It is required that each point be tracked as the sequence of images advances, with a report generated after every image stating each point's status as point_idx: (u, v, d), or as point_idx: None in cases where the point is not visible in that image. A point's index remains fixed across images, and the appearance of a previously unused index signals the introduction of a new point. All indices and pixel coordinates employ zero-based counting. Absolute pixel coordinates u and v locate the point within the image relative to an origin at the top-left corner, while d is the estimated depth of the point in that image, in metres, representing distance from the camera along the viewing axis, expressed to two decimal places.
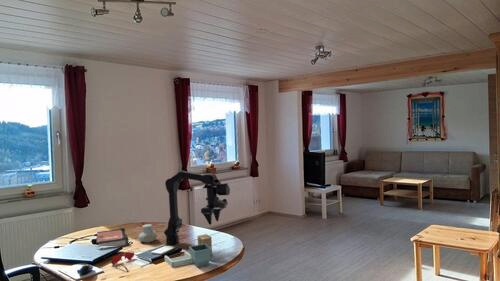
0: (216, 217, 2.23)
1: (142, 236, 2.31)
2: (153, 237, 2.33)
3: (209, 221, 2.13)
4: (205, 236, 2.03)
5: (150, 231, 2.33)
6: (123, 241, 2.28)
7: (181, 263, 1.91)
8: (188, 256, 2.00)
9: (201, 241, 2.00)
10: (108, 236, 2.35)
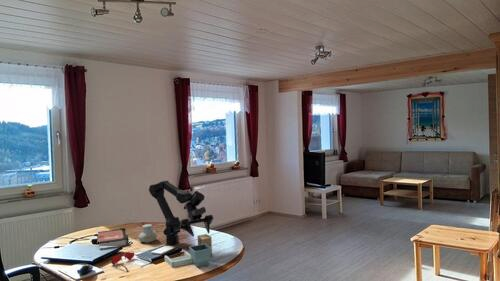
0: (207, 230, 2.10)
1: (142, 236, 2.31)
2: (153, 237, 2.33)
3: (191, 233, 2.05)
4: (205, 236, 2.03)
5: (150, 231, 2.33)
6: (123, 241, 2.28)
7: (181, 263, 1.91)
8: (188, 256, 2.00)
9: (201, 241, 2.00)
10: (108, 236, 2.35)
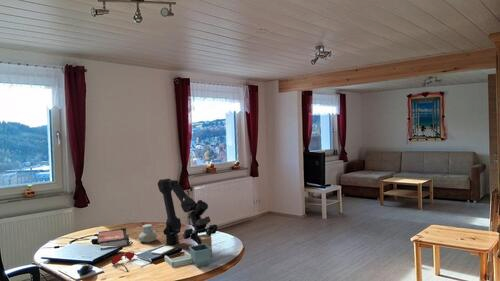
0: None
1: (142, 236, 2.31)
2: (153, 237, 2.33)
3: (198, 243, 2.01)
4: (205, 236, 2.03)
5: (150, 231, 2.33)
6: (124, 241, 2.28)
7: (181, 263, 1.91)
8: (188, 256, 2.00)
9: (201, 241, 2.00)
10: (109, 236, 2.35)
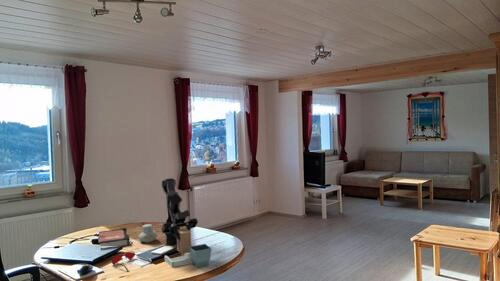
0: None
1: (142, 236, 2.31)
2: (153, 237, 2.33)
3: (177, 237, 1.97)
4: (184, 230, 1.98)
5: (150, 231, 2.33)
6: (124, 241, 2.28)
7: (181, 263, 1.91)
8: (188, 256, 2.00)
9: (180, 235, 1.95)
10: (110, 236, 2.35)
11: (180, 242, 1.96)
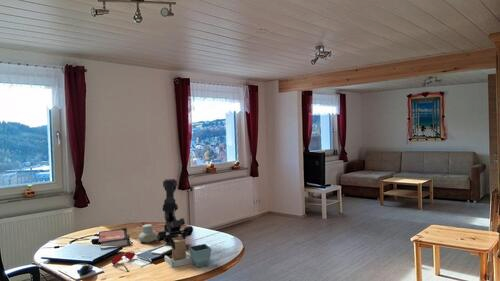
0: None
1: (142, 236, 2.31)
2: (153, 237, 2.33)
3: (172, 245, 1.96)
4: (179, 239, 1.97)
5: (150, 231, 2.33)
6: (125, 241, 2.28)
7: (181, 263, 1.91)
8: (188, 256, 2.00)
9: (174, 244, 1.95)
10: (110, 236, 2.35)
11: (175, 251, 1.95)
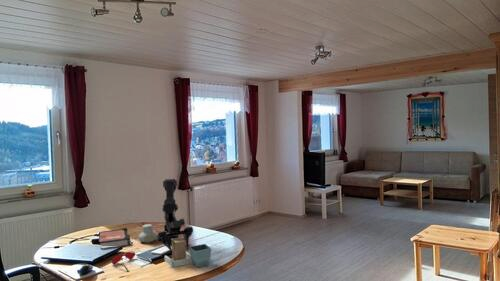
0: (186, 243, 2.00)
1: (142, 236, 2.31)
2: (153, 237, 2.33)
3: (168, 246, 1.95)
4: (179, 239, 1.97)
5: (150, 231, 2.33)
6: (125, 241, 2.28)
7: (181, 263, 1.91)
8: (188, 256, 2.00)
9: (175, 244, 1.95)
10: (110, 236, 2.35)
11: (175, 251, 1.95)
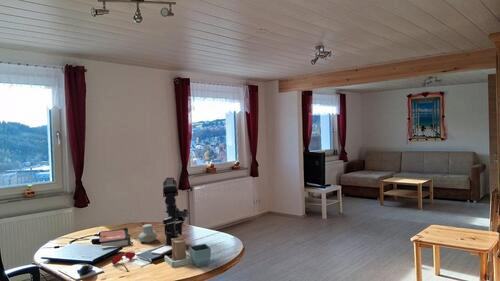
0: (179, 231, 2.14)
1: (142, 236, 2.31)
2: (153, 237, 2.33)
3: (173, 232, 2.04)
4: (179, 239, 1.97)
5: (150, 231, 2.33)
6: (125, 241, 2.28)
7: (181, 263, 1.91)
8: (188, 256, 2.00)
9: (175, 244, 1.95)
10: (111, 236, 2.35)
11: (175, 251, 1.95)
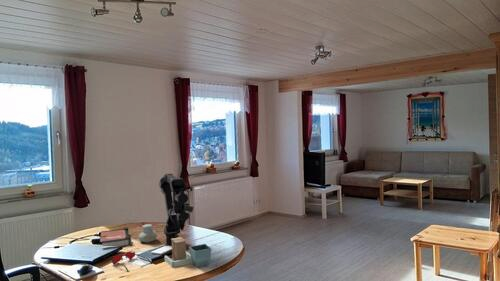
0: (175, 223, 2.16)
1: (142, 236, 2.31)
2: (153, 237, 2.33)
3: (182, 227, 2.08)
4: (179, 239, 1.97)
5: (150, 231, 2.33)
6: (126, 241, 2.29)
7: (181, 263, 1.91)
8: (188, 256, 2.00)
9: (175, 244, 1.95)
10: (111, 236, 2.35)
11: (175, 251, 1.95)
